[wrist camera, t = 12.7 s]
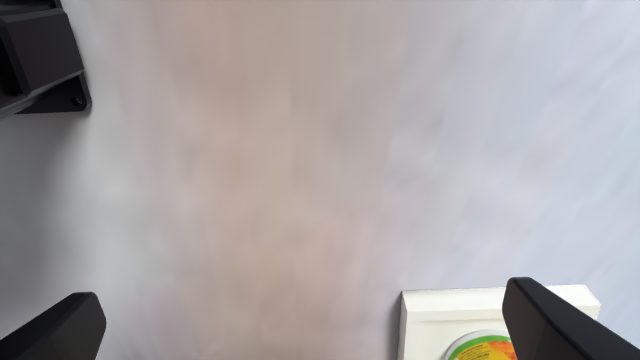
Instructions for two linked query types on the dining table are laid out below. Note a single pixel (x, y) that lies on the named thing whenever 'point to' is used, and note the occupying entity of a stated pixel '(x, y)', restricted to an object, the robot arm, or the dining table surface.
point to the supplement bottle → (483, 347)
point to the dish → (464, 316)
